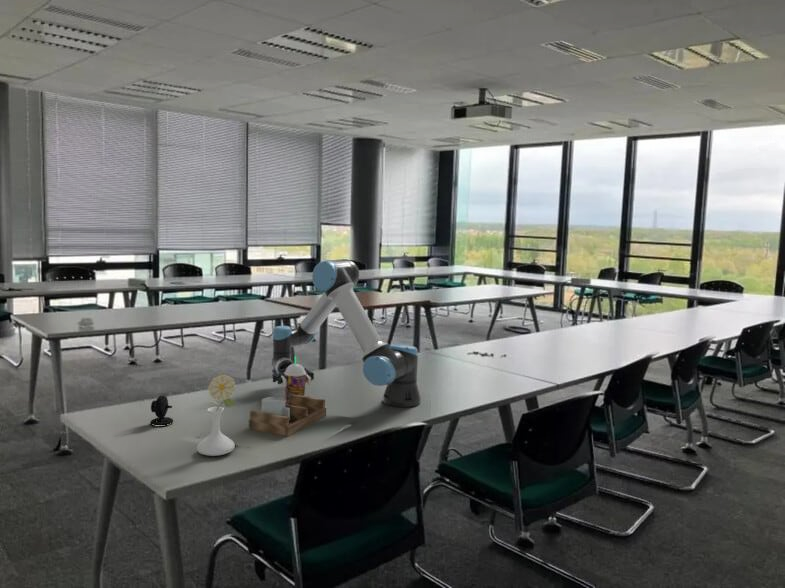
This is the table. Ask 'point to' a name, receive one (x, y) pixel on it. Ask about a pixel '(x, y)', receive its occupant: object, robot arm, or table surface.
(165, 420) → the webcam
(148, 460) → the table surface
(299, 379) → the smoothie
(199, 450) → the flower in vase
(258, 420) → the rack
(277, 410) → the mug
